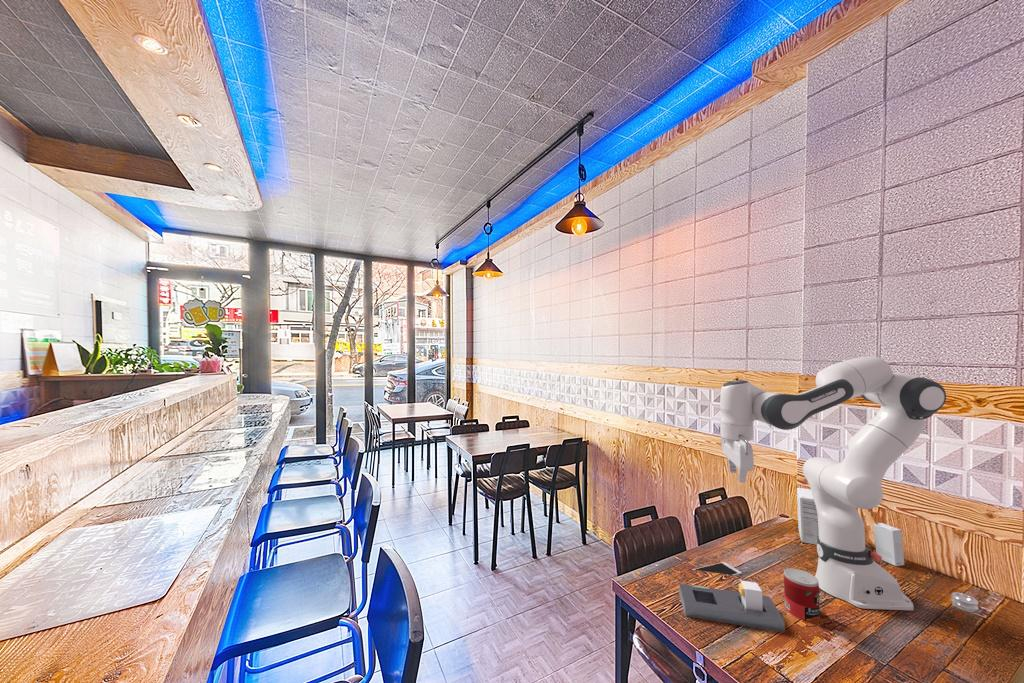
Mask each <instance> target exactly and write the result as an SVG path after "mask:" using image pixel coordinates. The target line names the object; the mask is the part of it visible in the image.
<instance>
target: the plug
mask: <svg viewBox="0 0 1024 683" xmlns="http://www.w3.org/2000/svg"><path fill="white" fill-rule="evenodd" d="M738 592H740V594H741V602H742V606H743V608H744V609H748V610H754V611H761V612H763V604H762V596H763V590H762V589H761V587H760V586H759V583H757V582H754V581H746V580H740V583H738Z"/></svg>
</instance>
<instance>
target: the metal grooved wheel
mask: <svg viewBox="0 0 1024 683" xmlns="http://www.w3.org/2000/svg"><path fill="white" fill-rule="evenodd" d="M950 595H951V604H952V605H953V606H955V607H956V608H957V609H960V610H962V611H964V612H965V611H966V612H969V613H974V614H975V613H979V612H980V608H979V607H978V606H979V601H978V600H977V599H976V598H974V597H972V596H971V595H968V594H965V593H962V592H959V591H958V592H955V591H954V592H952V593H951V594H950Z"/></svg>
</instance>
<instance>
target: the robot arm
mask: <svg viewBox="0 0 1024 683" xmlns="http://www.w3.org/2000/svg"><path fill="white" fill-rule="evenodd" d="M815 376H816V377H815V386H816V387H814V388H812V389H809V390H807V391H804V392H802V393H799V394H789V393H788V394H787V393H777V392H771V391H767V390H765V389H762V388H759V387H758V386H755V385H753V384H752V383H751V382H750V381H748V380H743V379H742V380H741V379H739V380H738V379H737V380H730V381H727V382H725V383H724V384H722V386H721V389H720V396H719V409H720V414H721V417H720V421H719V426H718V432H719V434H720V443H721V451H722V453H723V455H724V456H726V458H727V464H728V470H729V472H730V473H731V474H736V473H737V471H738V474H737V481H738V482H740V483H747V475H748V472H749V471H750V472H752V471H754V468H755V464H754V463H755V462H754V449H753V446H752V444H751V443H750V441H753V440H754V421H758V422H761V423H764V424H767V425H770V426H773V427H775V428H777V429H780V430H784V431H785V430H787V431H789V430H793V429H796V428H798V427H799V426H801V425H803V423H804V422H806V421H807V420H808V419H809V418H810V417H812V416H814V415H816V414H818V413H821V412H823V411H826V410H829V409H831V408H834V407H835V406H838V405H840V404H842V403H844V402H847V401H848V400H852V399H855V398H857V397H860V398H862V399H863V400H865V401H868V402H870V403H875V404H878V405H880V408H879V411H878V413H876V415H874V416H873V417H872V418H871V419H869V420H868V421H867V422H866V423H865V424H864V425H863V426H861V428H860V429H859V430H858V431H857V432H856V433H855V434H853V435H852V437H850V438H849V440H847V444H846V446H847V452H846V455H845V457H844V459H842V461H841V462H840V461H837V460H835V459H832V458H829V457H822V456H814V457H810V458H808V459H807V460H805V462H804V464H803V465H802V473H803V474H802V475H803V476H804V478H805V479H806V481H807V483H808V485H809V488H810V489H811V492H812V495H813V498H814V502H815V505H816V509H817V515H818V531H819V536H818V537H817V545H816V551H817V552H816V553H817V556H818V558H817V567H816V573H815V575H814V576H815V577H816V578H817V579H818V582H819V590H822V591H823V592H825V593H827V594H829V595H831V596H833V597H835V598H837V599H840V600H842V601H844V602H847V603H849V604H851V605H853V606H855V607H857V608H860V609H864V610H865V609H867V610H868V609H869V610H891V611H893V610H894V611H914V610H915V607H914V603H913V601H912V600H911V599H910V598H909V597H908V596H907V595H906V594H904V593H903V592H902V588H901V586H900V584H899V582H898V581H897V579H896V578H895V577H894V576H893V575H892V574H891V573H889V571H887V570H886V568H885V569H884V568H883V567H882V566H881V565H880V564H878V563H879V562H881V561H883V560H882V558H881V556H880V555H879V554H877V553H876V551H873V550H872V549H870V548H869V547H868V546H866V535H865V534H866V533H865V531H866V530H865V529H866V528H865V522H864V520H863V518H862V516H861V514H859V512H858V510H857V509H861V510H871V509H875V508H876V507H878V506H879V505H880V504H881V503H882V502H883V498H884V491H883V488H882V482H883V479H884V477H885V475H886V473H887V471H888V470H889V469H890V467H891V466H892V465H893V464H894V463H895V462H896V461H897V460H898V459H899V458H900V457H901V456H902V454H904V453H905V452H906V451H907V450H908V449H909V448H910V447H911V446H912V445H913V444H915V443H914V442H916V440H917V439H918V438H919V437H920V435H921V434H922V432H923V430H924V428H926V427H925V426H926V423H925V422H926V421H925V420H926V419H928V418H931V417H932V416H933V415H934V414H936V413H937V412H938V411H940V410H941V409H942V408H943V407H944V405H945V403H946V400H947V395H946V394H947V393H946V390H945V388H944V386H943V385H941V384H940V383H938V382H936V381H934V380H932V379H930V378H927V377H924V376H923V377H920V376H916V375H912V374H909V373H903V372H894V371H893V369H892V366H891V365H890V364H889V363H888V362H887V361H886V360H884V359H883V358H881V357H878V356H875V355H873V356H872V355H871V356H870V355H868V356H867V355H866V356H860V357H855V358H851V359H847V360H843V361H840V362H837V363H834V364H831V365H829V366H826V367H824V368H823V369H821V370H820V371H818V372H817V373H816V375H815ZM877 562H878V563H877Z"/></svg>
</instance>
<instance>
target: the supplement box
mask: <svg viewBox="0 0 1024 683" xmlns="http://www.w3.org/2000/svg"><path fill="white" fill-rule="evenodd" d="M796 500H797V501H796V502H797V524H798V533H799V538H800V541H801V543H805V544H811V545H815V546H817V537H818V536H819V531H818V515H817V509H816V505H815V502H814V498H813V495H812V492H811V488H810V489H809V488H803V487H796Z"/></svg>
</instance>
